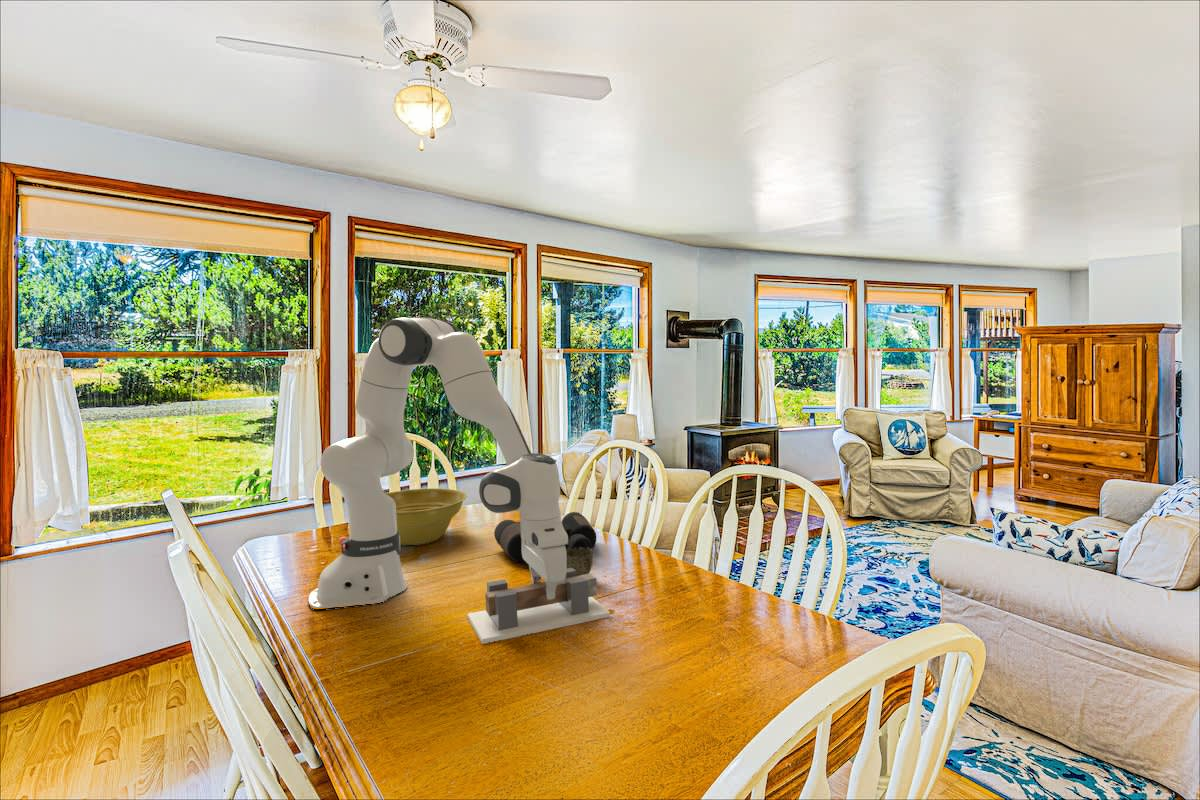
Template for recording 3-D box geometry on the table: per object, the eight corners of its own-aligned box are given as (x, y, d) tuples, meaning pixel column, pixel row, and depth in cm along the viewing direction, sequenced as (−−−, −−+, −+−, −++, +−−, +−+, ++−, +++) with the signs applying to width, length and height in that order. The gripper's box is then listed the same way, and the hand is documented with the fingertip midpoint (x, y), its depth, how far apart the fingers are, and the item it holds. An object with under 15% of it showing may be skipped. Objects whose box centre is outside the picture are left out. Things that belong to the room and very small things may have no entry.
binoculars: (585, 537, 192) (584, 507, 190) (608, 562, 173) (608, 528, 171) (494, 549, 182) (493, 517, 180) (508, 577, 163) (508, 541, 161)
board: (482, 644, 121) (480, 604, 120) (467, 618, 134) (466, 582, 133) (610, 616, 132) (609, 580, 132) (585, 595, 145) (584, 562, 145)
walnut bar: (489, 616, 127) (488, 597, 127) (485, 610, 130) (485, 592, 130) (597, 595, 137) (596, 578, 136) (591, 590, 140) (590, 573, 140)
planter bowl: (454, 554, 180) (452, 509, 179) (346, 556, 180) (343, 512, 179) (477, 525, 212) (476, 487, 211) (385, 527, 212) (383, 489, 211)
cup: (590, 587, 150) (589, 555, 149) (561, 586, 151) (560, 554, 151) (596, 577, 157) (595, 546, 156) (568, 576, 158) (567, 545, 158)
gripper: (513, 519, 141) (515, 578, 141) (541, 542, 122) (544, 610, 123) (539, 516, 143) (541, 573, 144) (571, 538, 124) (573, 604, 125)
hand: (543, 590), depth 133 cm, fingers open, 8 cm apart
